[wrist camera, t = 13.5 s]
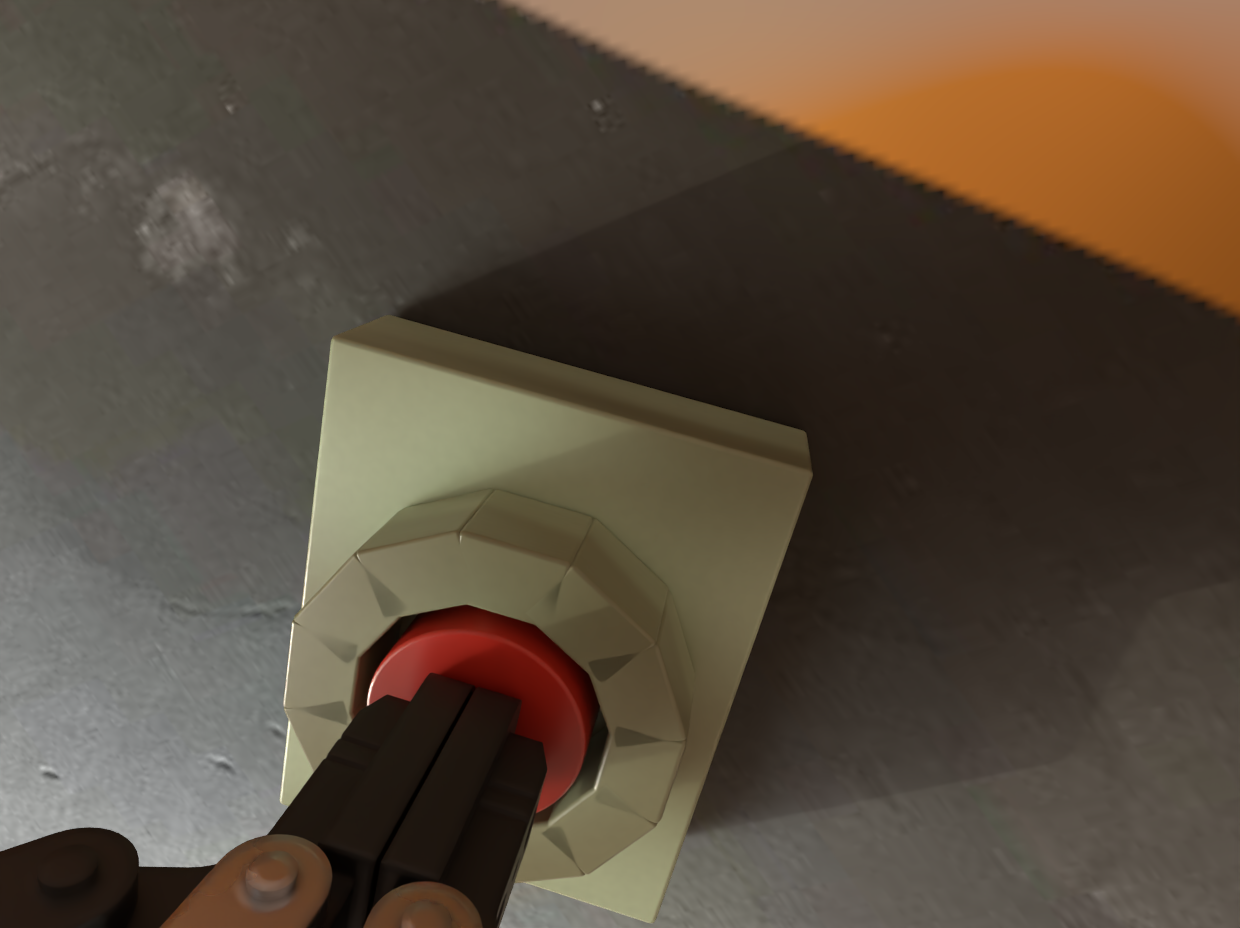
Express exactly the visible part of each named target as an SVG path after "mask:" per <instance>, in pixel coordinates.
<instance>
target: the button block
mask: <svg viewBox="0 0 1240 928" xmlns="http://www.w3.org/2000/svg"><path fill="white" fill-rule="evenodd" d="M812 477H813V471H812V465H811V459H810V453H809V447H808V440H807V434H806V432H804V431H803V430H799V429H796V428H792V427H788V426H785V425H781V424H778V423H774V422H771V421H767V420H763V419H760V418H756V417H753V416H749V415H746V414H742V413H738V412H735V411H731V410H728V409H724V408H721V407H717V406H713V405H710V404H706V403H703V402H699V401H695V400H692V399H688V398H685V397H681V396H678V395H674V394H670V393H667V392H663V391H660V390H656V389H653V388H649V387H645V386H642V385H638V384H635V383H631V382H628V381H624V380H620V379H617V378H613V377H610V376H606V375H603V374H599V373H595V372H592V371H588V370H585V369H581V368H577V367H574V366H570V365H567V364H563V363H560V362H556V361H552V360H549V359H545V358H542V357H538V356H535V355H531V354H527V353H524V352H520V351H517V350H513V349H510V348H506V347H502V346H499V345H495V344H492V343H488V342H484V341H481V340H477V339H474V338H470V337H467V336H463V335H459V334H456V333H452V332H449V331H445V330H442V329H438V328H434V327H431V326H427V325H424V324H420V323H417V322H413V321H409V320H406V319H402V318H399V317H395V316H391V315H386V316H384V317H381V318H379V319H376V320H374V321H371V322H369V323H366V324H363V325H361V326H358V327H356V328H353V329H351V330H348V331H346V332H343V333H341V334H338V335H336V336H334V337H333V338H332V341H331V349H330V358H329V366H328V375H327V384H326V393H325V402H324V411H323V420H322V429H321V438H320V446H319V455H318V464H317V473H316V482H315V491H314V500H313V509H312V518H311V526H310V535H309V544H308V553H307V562H306V571H305V580H304V589H303V598H302V606H301V610H300V611H299V612H298V613H297V614H296V615H295V617H294V620H293V621H292V629H291V638H290V647H289V657H288V666H287V675H286V684H285V693H284V703H283V705H284V711H285V713H286V715H287V717H288V719H289V722H288V731H287V740H286V749H285V758H284V766H283V775H282V784H281V793H280V802H281V803H282V804H284V805H287V806H289V805H290V804H291V803H292V801H293V800H294V798H295V797H296V796H297V794H298V793H299V792H300V790H301V789H302V788H303V786H304V785H305V784H306V782H307V781H308V780H309V778H310V777H311V775H312V774H313V773H314V771H315V770H316V769H317V767H318V766H319V765H320V763H321V762H322V761H323V759H326V757H327V754H328V752H329V751H330V750H331V748H332V747H333V746H334V744H335V743H336V742H337V740H338V739H340V738H341V736H342V734H343V732H344V731H345V729H346V728H347V727H348V725H349V724H350V723H351V721H352V720H353V719H354V717H355V716H356V715H357V713H358V712H359V711H360V710H361V709H363V708H365V707H366V706H367V698H368V691H369V687H370V683H371V680H372V678H373V676H374V673H375V671H376V670H377V668H378V666H379V665H380V663H381V662H382V660H383V659H384V658H385V656H386V655H387V654H388V653H389V651H390V650H391V649H392V647H393V646H394V645H395V643H396V642H397V641H398V640H399V638H400V637H401V636H402V634H403V633H404V632H405V630H406V629H407V628H408V627H409V625H410V624H411V623H412V621H413V620H414V619H415V618H416V616H417V615H418V614H419V613H424V612H429V611H434V610H439V609H445V608H450V607H455V606H460V605H466V604H468V605H471V606H474V607H478V608H481V609H484V610H487V611H491V612H494V613H497V614H501V615H504V616H507V617H511V618H514V619H517V620H521V621H524V622H527V623H530V624H534V625H536V626H537V627H538V628H539V629H540V630H541V631H542V632H543V633H544V634H546V635H547V636H548V637H549V638H550V639H551V640H552V641H553V642H554V643H555V644H556V645H558V646H559V647H560V648H561V649H562V650H563V651H564V652H565V653H566V654H567V655H568V656H570V657H571V658H572V659H573V660H574V661H575V662H576V663H577V664H578V665H579V666H580V667H582V668H583V669H584V670H585V671H586V672H587V673H588V674H589V676H590V678H591V681H592V684H593V687H594V690H595V693H596V696H597V699H598V702H599V705H600V709H599V713H598V716H597V719H596V722H595V726H594V729H593V732H592V736H591V739H590V742H589V746H588V749H587V752H586V756H585V759H584V762H583V765H582V768H581V770H580V773H579V775H578V777H577V778H576V780H575V782H574V783H573V785H572V786H571V787H570V788H569V790H568V791H567V792H566V793H565V794H564V795H563V796H562V797H561V798H560V799H558V800H557V801H556V802H555V803H553V804H552V805H550V806H549V807H547V808H546V809H544V810H542V811H540V812H537V813H536V815H535V819H534V822H533V826H532V830H531V834H530V838H529V841H528V845H527V848H526V850H525V853H524V856H523V859H522V862H521V865H520V868H519V871H518V873H517V876H516V879H515V882H514V883H523V882H524V883H527V884H531V885H534V886H537V887H540V888H543V889H546V890H549V891H552V892H555V893H558V894H561V895H564V896H568V897H571V898H574V899H577V900H580V901H583V902H586V903H589V904H592V905H595V906H598V907H601V908H605V909H608V910H611V911H614V912H617V913H620V914H623V915H626V916H629V917H632V918H635V919H638V920H642V921H645V922H648V923H654V921H655V920H656V918H657V915H658V912H659V909H660V907H661V904H662V901H663V898H664V895H665V893H666V890H667V887H668V884H669V881H670V878H671V876H672V873H673V870H674V867H675V864H676V861H677V859H678V856H679V853H680V850H681V847H682V844H683V842H684V839H685V836H686V833H687V830H688V828H689V825H690V822H691V819H692V816H693V813H694V811H695V808H696V805H697V802H698V799H699V796H700V794H701V791H702V788H703V785H704V782H705V779H706V777H707V774H708V771H709V768H710V765H711V763H712V760H713V757H714V754H715V751H716V748H717V746H718V743H719V740H720V737H721V734H722V731H723V729H724V726H725V723H726V720H727V717H728V715H729V712H730V709H731V706H732V703H733V700H734V698H735V695H736V692H737V689H738V686H739V683H740V681H741V678H742V675H743V672H744V669H745V666H746V664H747V661H748V658H749V655H750V652H751V650H752V647H753V644H754V641H755V638H756V635H757V633H758V630H759V627H760V624H761V621H762V618H763V616H764V613H765V610H766V607H767V604H768V601H769V599H770V596H771V593H772V590H773V587H774V585H775V582H776V579H777V576H778V573H779V570H780V568H781V565H782V562H783V559H784V556H785V553H786V551H787V548H788V545H789V542H790V539H791V537H792V534H793V531H794V528H795V525H796V522H797V520H798V517H799V514H800V511H801V508H802V505H803V503H804V500H805V497H806V494H807V491H808V488H809V486H810V483H811V480H812Z"/></svg>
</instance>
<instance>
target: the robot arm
mask: <svg viewBox="0 0 1240 928" xmlns="http://www.w3.org/2000/svg"><path fill="white" fill-rule="evenodd" d="M521 705H522V700H520V699H517V698H514V697H510V696H507V695H504V694H501V693H497V692H494V691H491V690H488V689H484V688H481V687H477V688H475V686H474V685H471V684H468V683H464V682H461V681H458V680H455V679H451V678H448V677H445V676H442V675H438V674H435V673H429V674H428V676H427V677H426V678H425V680H424V681H423V683H422V684H421V686H420V687H419V689H418V691H417V692H416V694H415V695H414V697H413V698H412V700H411V701H407V700H404V699H401V698H397V697H394V696H391V695H388V694H387V695H385V696H383V697H382V698H380V699H378V700H377V701H375V702H373V703H372V704H370V705H368V706H366V707H365V708H363V709H361V710H360V711H359V712H358V713H357V715H356V716H355V717H354V719H353V720H352V721H351V723H350V724H349V725H348V727H347V728H346V729H345V731H344V732H343V734H342V736H341V738H340V739H338V740H337V742H336V743H335V744H334V746H333V747H332V748H331V750H330V751H329V752H328V754H327V757H326V759H323V761H322V762H321V763H320V765H319V766H318V767H317V769H316V770H315V771H314V773H313V774H312V775H311V777H310V778H309V780H308V781H307V782H306V784H305V785H304V786H303V788H302V789H301V790H300V792H299V793H298V794H297V796H296V797H295V798H294V800H293V801H292V803H291V804H290V805H289V807H288V808H287V809H286V811H285V812H284V813H283V815H282V816H281V817H280V819H279V820H278V821H277V823H276V824H275V826H274V827H273V828H272V830H271V831H270V832H269V833H268V834H267V835H266V836H262V837H258V838H254V839H252V840H249V841H246V842H244V843H242V844H241V845H239V846H237V847H235V848H234V849H232V850H231V851H230V852H228V853H227V854H226V855H225V856H224V857H223V858H222V859H221V860H220V861H219V862H218V863H217V864H215V865H210V866H204V867H189V868H186V867H139V858H138V854H137V851H136V849H135V847H134V846H133V844H132V843H131V842H130V841H129V840H128V839H127V838H126V837H124V836H122V835H121V834H119V833H116V832H114V831H111V830H107V829H102V828H76V829H70V830H65V831H61V832H58V833H54V834H51V835H48V836H45V837H42V838H39V839H36V840H33V841H31V842H28V843H25V844H22V845H19V846H16V847H13V848H10V849H7V850H4V851H1V852H0V928H499V926H500V923H501V920H502V917H503V914H504V911H505V908H506V906H507V903H508V900H509V896H510V894H511V891H512V888H513V885H514V882H515V879H516V876H517V873H518V871H519V868H520V865H521V862H522V859H523V856H524V853H525V850H526V848H527V845H528V841H529V838H530V834H531V830H532V826H533V822H534V819H535V815H536V811H537V807H538V804H539V800H540V796H541V792H542V788H543V785H544V781H545V777H546V773H547V764H546V758H545V753H544V747H543V742H539V741H536V740H533V739H530V738H527V737H523V736H520V735H517V734H515V731H516V726H517V722H518V718H519V714H520V710H521Z"/></svg>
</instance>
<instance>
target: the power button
mask: <svg viewBox="0 0 1240 928" xmlns="http://www.w3.org/2000/svg"><path fill="white" fill-rule="evenodd" d="M429 673H435V674H438V675H442V676H445V677H448V678H451V679H455V680H458V681H461V682H464V683H468V684H471V685H474V686H475V688H477V687H481V688H484V689H488V690H491V691H494V692H497V693H501V694H504V695H507V696H510V697H514V698H517V699H520V700H522V705H521V710H520V714H519V718H518V722H517V726H516V731H515V734H517V735H520V736H523V737H527V738H530V739H533V740H536V741H539V742H543V747H544V753H545V758H546V764H547V773H546V777H545V781H544V785H543V788H542V792H541V796H540V800H539V804H538V807H537V811H536V813H537V812H540V811H542V810H544V809H546V808H547V807H549V806H550V805H552V804H553V803H555V802H556V801H557V800H558V799H560V798H561V797H562V796H563V795H564V794H565V793H566V792H567V791H568V790H569V788H570V787H571V786H572V785H573V783H574V782H575V780H576V778H577V777H578V775H579V773H580V770H581V768H582V765H583V762H584V759H585V756H586V752H587V749H588V746H589V742H590V739H591V736H592V732H593V729H594V726H595V722H596V719H597V716H598V713H599V709H600V705H599V702H598V699H597V696H596V693H595V690H594V687H593V684H592V681H591V678H590V676H589V674H588V673H587V672H586V671H585V670H584V669H583V668H582V667H580V666H579V665H578V664H577V663H576V662H575V661H574V660H573V659H572V658H571V657H570V656H568V655H567V654H566V653H565V652H564V651H563V650H562V649H561V648H560V647H559V646H558V645H556V644H555V643H554V642H553V641H552V640H551V639H550V638H549V637H548V636H547V635H546V634H544V633H543V632H542V631H541V630H540V629H539V628H538V627H537V626H536V625H534V624H530V623H527V622H524V621H521V620H517V619H514V618H511V617H507V616H504V615H501V614H497V613H494V612H491V611H487V610H484V609H481V608H478V607H474V606H471V605H468V604H466V605H460V606H455V607H450V608H445V609H439V610H434V611H429V612H424V613H419V614H418V615H417V616H416V618H415V619H414V620H413V621H412V623H411V624H410V625H409V627H408V628H407V629H406V630H405V632H404V633H403V634H402V636H401V637H400V638H399V640H398V641H397V642H396V643H395V645H394V646H393V647H392V649H391V650H390V651H389V653H388V654H387V655H386V656H385V658H384V659H383V660H382V662H381V663H380V665H379V666H378V668H377V670H376V671H375V673H374V676H373V678H372V680H371V683H370V687H369V691H368V698H367V706H368V705H370V704H372V703H373V702H375V701H377V700H378V699H380V698H382V697H383V696H385V695H387V694H388V695H391V696H394V697H397V698H401V699H404V700H407V701H411V700H412V698H413V697H414V695H415V694H416V692H417V691H418V689H419V687H420V686H421V684H422V683H423V681H424V680H425V678H426V677H427V676H428V674H429Z"/></svg>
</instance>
